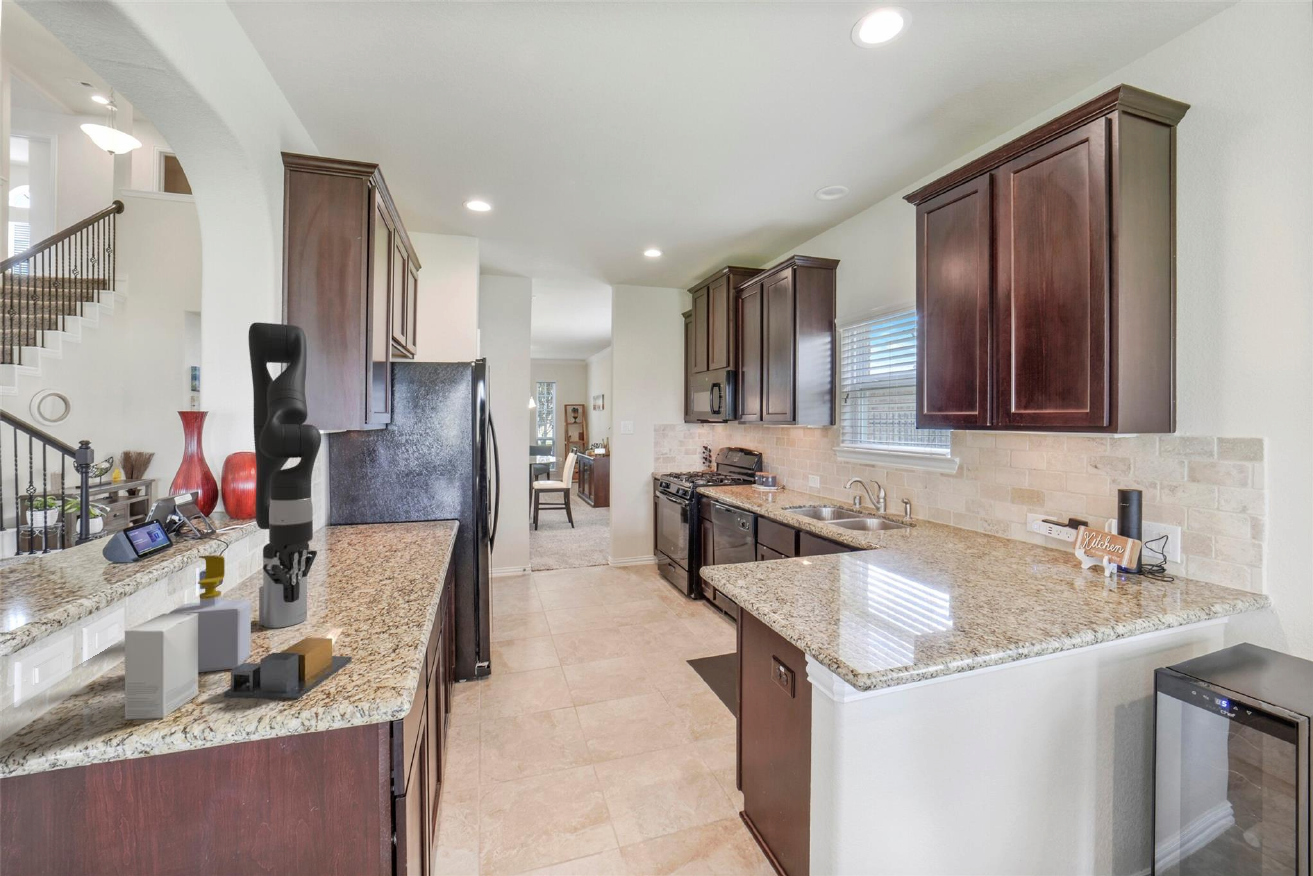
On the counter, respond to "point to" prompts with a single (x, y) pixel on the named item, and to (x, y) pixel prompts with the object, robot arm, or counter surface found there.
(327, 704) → the counter surface
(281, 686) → the stand
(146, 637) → the skincare box
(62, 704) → the counter surface
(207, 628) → the soap bottle
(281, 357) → the robot arm
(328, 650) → the block
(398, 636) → the counter surface
